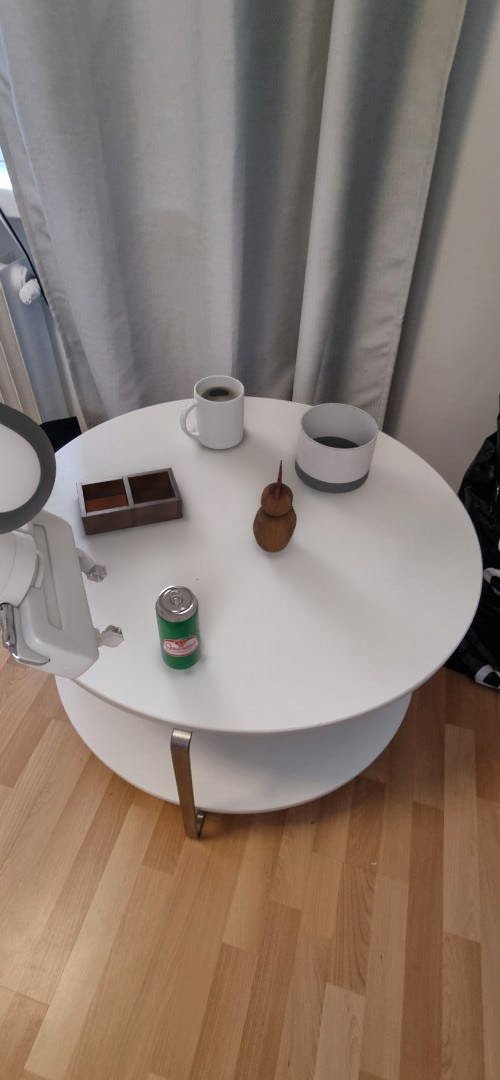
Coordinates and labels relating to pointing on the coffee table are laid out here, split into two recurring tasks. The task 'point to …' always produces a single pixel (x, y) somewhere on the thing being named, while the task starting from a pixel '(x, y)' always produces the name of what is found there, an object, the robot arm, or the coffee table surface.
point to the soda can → (178, 627)
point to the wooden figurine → (275, 516)
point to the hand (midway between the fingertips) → (110, 604)
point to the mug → (216, 412)
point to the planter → (335, 447)
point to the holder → (129, 501)
